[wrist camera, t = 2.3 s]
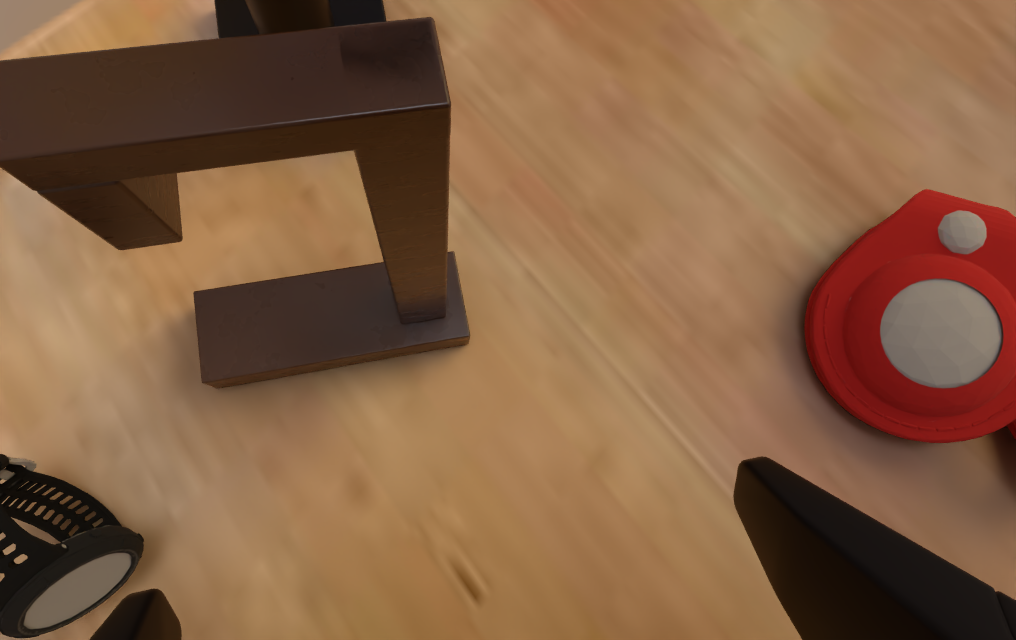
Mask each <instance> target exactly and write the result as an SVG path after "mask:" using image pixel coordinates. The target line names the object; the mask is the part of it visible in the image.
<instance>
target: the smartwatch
mask: <svg viewBox="0 0 1016 640" xmlns="http://www.w3.org/2000/svg"><path fill="white" fill-rule="evenodd" d="M22 465H24V466H26V467H23V466H22ZM36 465H37V464H36V463H35V462H34V461H31V460H27V459H20V458H11V457H7V456H5V455H3V454H0V480H2V479H4V480H7V481H5V482H4V483H3V484H0V534H1V533H2V532H3V533H4V534H5V535H6V537H5V538H3V539H2V540H1V541H0V573H4V575H5V577H4V578H3V579H2V581H1V582H0V632H1V633H2V634H3V635H6V636H9V637H14V638H31V637H37V636H39V635H41V634H44V633H47V632H50V631H54V630H56V629H58V628H61V627H63V626H65V625H67V624H69V623H71V622H73V621H75V620H77V619H78V618H80V617H82V616H83V615H85V614H87V613H88V612H90V611H91V610H93V609H94V608H96V607H97V606H99V605H100V604H101V603H103V602H104V601H105V600H107V599H108V598H109V597H110V596H111V595H113V594H114V593H115V592H116V591H117V590H118V589H119V588H120V587H121V586H122V585H123V584H124V583H125V582H126V581H127V580H128V578H129V577H130V576H131V574H132V573H133V572H134V570H135V568H136V566H137V564H138V561H139V559H140V558H141V557H142V556H141V555H142V552H143V547H144V544H143V542H144V539H143V537H142V536H141V535H140V534H139V533H138V534H136V533H135V532H133V531H132V530H130V529H128V528H125V527H122V526H121V524H120V523H119V522H118V520H117V519H116V518H115V516H114V515H113V514H112V513H111V512H110V511H109V510H108V509H107V508H106V507H105V506H104V505H103V504H101V503H100V502H99V501H98V500H96V499H95V498H94V497H92V496H91V495H90V494H88V493H86V492H84V491H82V490H81V489H79V488H77V487H75V486H73V485H71V484H69V483H67V482H65V481H63V480H60V479H57V478H55V477H52V476H48V475H45V474H41V473H37V472H33V470H34V469H35V468H36ZM5 467H6V468H5ZM4 468H5V469H4ZM13 472H14V473H13ZM28 481H29V482H28ZM26 482H28V483H26ZM25 483H26V484H25ZM36 483H37V484H36ZM24 484H25V485H24ZM34 484H36V485H34ZM22 485H23V486H22ZM33 485H34V486H33ZM43 485H46V486H45V487H43V488H42V489H40V490H39V491H37V492H36V493H33V492H35V491H36V490H37V489H39V488H40V487H42V486H43ZM21 486H22V487H21ZM31 486H33V487H32V488H30V487H31ZM19 487H20V488H19ZM18 488H19V489H18ZM29 488H30V489H29ZM50 488H55V489H54V490H52V491H51V492H49V493H48V494H46V495H42V494H43V493H45V492H46V491H48V490H49V489H50ZM27 489H29V490H27ZM58 492H62V493H64V494H62V495H61V496H60V497H58V498H57V499H55V500H50V498H51V497H52V496H54V495H55V494H57V493H58ZM8 496H10V497H9V498H8V499H7V500H6V501H5V502H4V503H3V504H1V503H2V502H3V501H4V500H5V499H6V498H7V497H8ZM68 496H73V498H72V499H70V500H69V501H67V502H66V503H65V504H60V501H62V500H63V499H65V498H66V497H68ZM15 499H17V500H16V502H15V503H14V504H13V505H11V506H10V507H9V505H10V504H11V503H12V502H13V501H14V500H15ZM24 500H27V501H26V502H25V503H24V504H23V505H22V506H21V507H20V508H17V507H18V506H19V505H20V504H21V503H22V502H23V501H24ZM77 500H79V501H81V503H80V504H79V505H78V506H76V507H75V508H73V509H68V506H69V505H71V504H72V503H74V502H75V501H77ZM32 502H37V503H36V504H35V505H34V506H33V507H32V508H31V509H30V511H26V512H25V510H26V509H27V508H28V506H29V505H30V504H31V503H32ZM84 505H87V506H88V507H89V509H87V510H86V511H85V512H83V513H82V514H76V512H75V511H77V510H78V509H80V508H81V507H82V506H84ZM40 506H46V508H45V509H44V511H43V512H42V513H41V514H40V515H38V516H36V515H35V514H34V513H35V512H36V511H37V510H38V508H39V507H40ZM49 510H54V511H55V512H54V514H53V515H52V516H51V517H50V518H49V519H48V520H45V519H43V517H44V516H45V515H46V514H47V512H48V511H49ZM93 511H95V512H96V515H95V516H94V517H92V518H91V519H89V520H88V521H85V516H87V515H88V514H90V513H91V512H93ZM58 514H63V516H64V517H63V518H62V520H61V521H60V522H59V523H58V524H57V525H53V523H52V521H53V520H54V519H55V518H56V517H57V516H58ZM11 517H12V518H15V519H18V520H21V521H23V522H26V523H28V524H31V525H33V526H35V527H37V528H39V529H41V530H43V531H45V532H47V533H49V534H50V535H51V536H53V537H54V538H55V539H57V540H58V541H59V542H61V543H58V544H51V543H48V542H46V541H44V540H42V539H39V538H37V537H35V536H33V535H31V534H29V533H28V532H27V531H25V530H24V529H23V528H21V527H20V526H19V525H18V524H17V523H16V522H15V521H14V520H13V519H12V518H11ZM100 518H103V522H102V523H101V524H99V525H98V526H96V527H95V528H94V527H93V525H92V524H93V523H94V522H96V521H97V520H99V519H100ZM67 519H70V520H71V523H70V524H69V525H68V526H67V527H66V528H65V530H61V528H60V526H61V525H62V524H63V523H64V522H65V521H66V520H67ZM75 525H78V526H79V529H78V530H77V531H76V532H75V533H74V534H73V535H72V536H70V535H69V532H70V531H71V529H72V528H73V527H74V526H75ZM84 531H85V532H84ZM13 543H14V544H16V549H15V550H14V551H13V552H11V553H10V554H8V555H4V553H3V551H2V550H4V549H5V548H7V547H8V546H10V545H11V544H13ZM21 554H25V555H27V556H28V559H27V560H25V561H23V562H22V563H20V564H16V563H15V562H14V559H15V558H17V557H18V556H19V555H21Z"/></svg>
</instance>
